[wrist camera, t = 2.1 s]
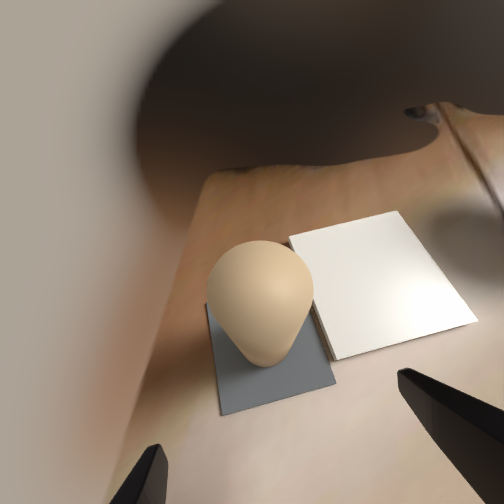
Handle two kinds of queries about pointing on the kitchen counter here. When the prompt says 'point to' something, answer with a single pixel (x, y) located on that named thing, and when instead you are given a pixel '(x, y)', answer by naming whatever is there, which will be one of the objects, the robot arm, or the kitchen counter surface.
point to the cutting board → (376, 285)
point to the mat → (268, 369)
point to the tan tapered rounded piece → (260, 299)
